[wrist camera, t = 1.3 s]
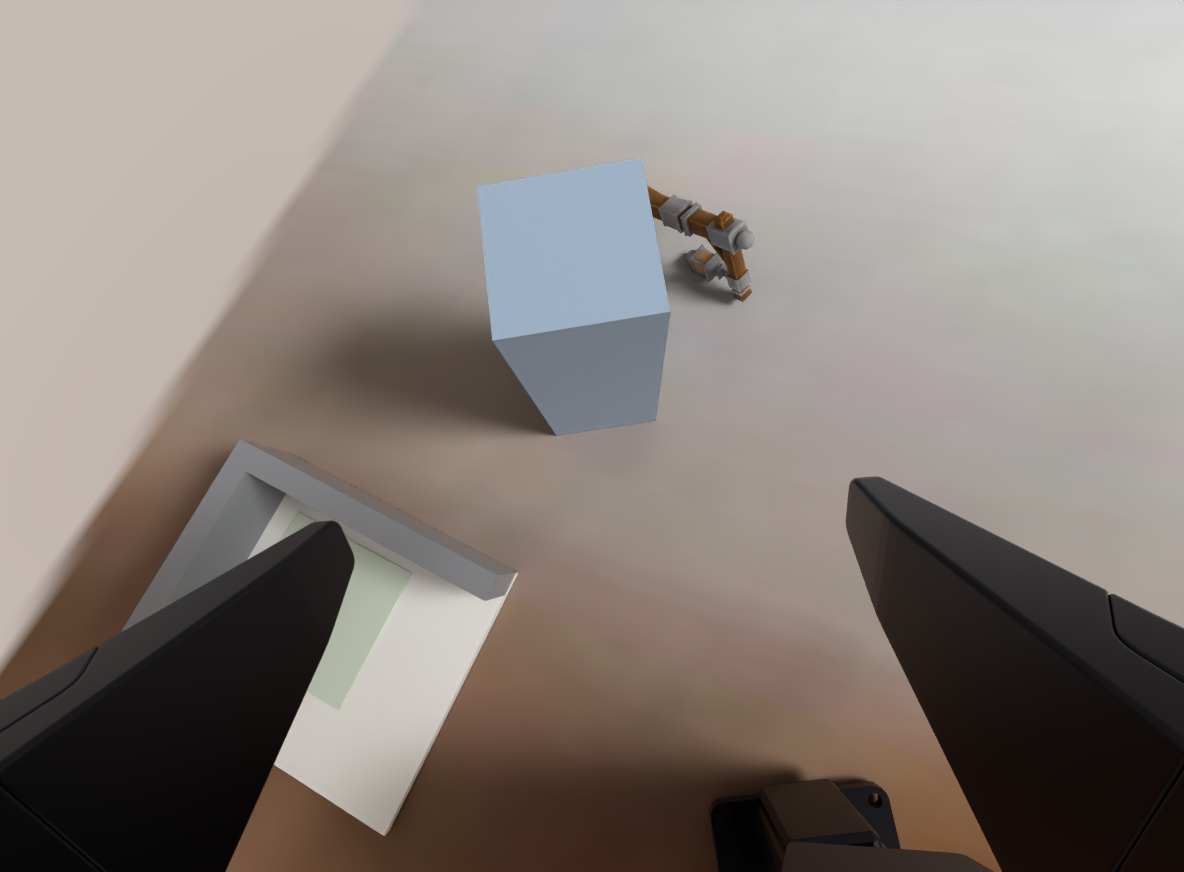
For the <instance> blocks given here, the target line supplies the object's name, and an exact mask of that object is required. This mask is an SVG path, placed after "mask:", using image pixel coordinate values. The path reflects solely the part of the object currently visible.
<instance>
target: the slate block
mask: <svg viewBox="0 0 1184 872" xmlns="http://www.w3.org/2000/svg"><path fill="white" fill-rule="evenodd" d="M477 194H478V204H479V213H480V223H481V233H482V243H483V253H484V263H485V273H486V283H487V293H488V303H489V313H490V323H491V333H492V341H493V342H494V344H495V345H496V347H497V348H498V350H499V351H500V353H501V354H502V356H503V357H504V359H505V360H506V362H507V363H508V365H509V366H510V368H511V369H512V371H513V372H514V373H515V375H516V376H517V378H518V379H519V381H520V382H521V384H522V385H523V387H524V388H525V390H526V391H527V393H528V394H529V396H530V397H531V399H532V400H533V402H534V403H535V405H536V406H537V408H538V409H539V410H540V412H541V413H542V415H543V416H544V418H545V419H546V421H547V422H548V424H549V425H550V427H551V428H552V430H553V431H554V433H555V434H556V436H558V435H565V434H572V433H578V432H585V431H591V430H598V429H604V428H611V427H617V426H624V425H630V424H637V423H644V422H650V421H656V415H657V408H658V400H659V393H660V385H661V378H662V370H663V362H664V355H665V347H666V340H667V332H668V325H669V317H670V308H669V302H668V297H667V291H666V286H665V281H664V275H663V270H662V264H661V259H660V253H659V248H658V243H657V237H656V232H655V226H654V221H653V215H652V210H651V205H650V199H649V194H648V188H647V183H646V178H645V172H644V167H643V161H642V158H636V159H631V160H625V161H620V162H614V163H608V164H603V165H597V166H591V167H586V168H580V169H575V170H569V171H563V172H558V173H552V174H546V175H541V176H535V177H530V178H524V179H518V180H513V181H507V182H502V183H496V184H490V185H485V186H479V187H477Z"/></svg>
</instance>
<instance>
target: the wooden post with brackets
mask: <svg viewBox="0 0 1184 872" xmlns="http://www.w3.org/2000/svg"><path fill="white" fill-rule="evenodd" d="M647 188H648V194H649V199H650V205H651V210H652V215H653V217H654V218H657V219H659V220H662V221H663V224H664V226H669V227H671V228H674V229H676V230H678V231H679V232H680V233H682V232H683V231H684V233H685V236H686V235H688V236H689V237H690V236H691V235H692V234H696V235H699V236H702V237H704V238H706V239H707V240H708V241H709V243H710V244H711V245H712V247H713V248H714V249H715V251H716V252H717V253H716V254H713V253H711V252H710V251H708V250H706V249H705V248H704V246H703V245H702V246H701V247H699V248H698V249H697V250H691V251H690V252H689V253H688V254H687V261H688V262H689V263H690V266H691V269H692V271H695V272H698V273H700V274H703V275H705V276H706V279H707V282H708V283H709V282H710V281H711V280H712V279H713V278H714V277H715V276H716V275H717V276H718V277H719V280H720V279H721V278H722V277H723V276H725V277H726V278H727V280H728V284H729V287H730V288H732V292H733V295H734V298H736V299H738V300H740V301H742V302H743V301H744V300H745V299H746V298H747V297H748V296H749V295H750V294H751V293H752V291H751V289H750V288H751V285H749V283H750V282H751V278H750V274H749V270H747V269H746V267H745V263H744V258H743V254H742V250H741V249H748V248H750V247H751V246H752V245H753V244H754V241H755V237H754V235H753V233H752V232H751V231H748V227H747V222H746V221H745V220H739V219H736V218H733V215H732V214H730V213H727V212H725V211H722V212H721V213H720V214H719V215H718V216H717V215H714V214H712V213H709V212H707V211H704V210H702V207H701V204H697V202H696V203H695V204H694V205H693V203H692V201H686V200H683V199H680V198H678V197H676V196H675V195H673V196H672V197H670V198H669V197H667V196H665V195H662V194H660V193H659V192H657V191H655V190H654V189H652V188H650V187H649V186H647ZM722 260H723V261H724V262H725V263H724V264H723V261H722Z"/></svg>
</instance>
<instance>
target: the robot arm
mask: <svg viewBox="0 0 1184 872" xmlns="http://www.w3.org/2000/svg"><path fill="white" fill-rule="evenodd" d="M846 527H847V532H848V535H849V538H850V541H851V544H852V547H853V550H854V553H855V555H856V558H857V561H858V564H859V567H860V570H861V573H862V576H863V578H864V581H865V584H866V587H867V590H868V593H869V596H870V598H871V601H872V604H873V607H874V609H875V612H876V614H877V617H878V619H879V621H880V623H881V625H882V628H883V630H884V632H885V634H886V636H887V638H888V640H889V642H890V644H891V646H892V648H893V650H894V652H895V654H896V656H897V658H898V660H899V662H900V664H901V666H902V668H903V670H904V673H905V675H906V677H907V679H908V681H909V683H910V685H911V687H912V689H913V691H914V693H915V695H916V697H917V699H918V701H919V703H920V705H921V707H922V709H923V711H924V713H925V715H926V717H927V719H928V721H929V723H930V725H931V728H932V730H933V732H934V734H935V736H936V738H937V740H938V742H939V744H940V746H941V748H942V750H943V752H944V754H945V756H946V758H947V760H948V762H949V764H950V766H951V768H952V770H953V772H954V774H955V776H956V778H957V780H958V783H959V785H960V787H961V789H962V791H963V793H964V795H965V797H966V799H967V801H968V803H969V805H970V807H971V809H972V811H973V813H974V815H975V817H976V819H977V821H978V823H979V825H980V827H981V829H982V831H983V833H984V835H985V838H986V840H987V842H988V844H989V846H990V848H991V850H992V852H993V854H994V856H995V858H996V860H997V862H998V864H999V866H1000V868H1001V870H1002V872H1184V628H1182V627H1180V626H1178V625H1176V624H1174V623H1172V622H1170V621H1168V620H1166V619H1164V618H1162V617H1160V616H1157V615H1155V614H1153V613H1151V612H1149V611H1147V610H1145V609H1143V608H1141V607H1139V606H1137V605H1135V604H1133V603H1131V602H1129V601H1127V600H1125V599H1123V598H1121V597H1119V596H1117V595H1115V594H1110V595H1109V596H1108V592H1107V591H1106V590H1105V589H1103V588H1101V587H1099V586H1097V585H1095V584H1093V583H1091V582H1089V581H1087V580H1085V579H1083V578H1081V577H1079V576H1077V575H1075V574H1073V573H1071V572H1069V571H1067V570H1065V569H1063V568H1061V567H1059V566H1057V565H1055V564H1053V563H1051V562H1049V561H1047V560H1045V559H1043V558H1041V557H1039V556H1037V555H1035V554H1033V553H1031V552H1029V551H1027V550H1025V549H1023V548H1021V547H1019V546H1017V545H1015V544H1013V543H1011V542H1009V541H1007V540H1005V539H1003V538H1001V537H999V536H997V535H995V534H993V533H991V532H989V531H987V530H985V529H983V528H981V527H979V526H977V525H975V524H973V523H971V522H969V521H967V520H965V519H963V518H961V517H959V516H957V515H955V514H953V513H951V512H949V511H947V510H945V509H943V508H941V507H939V506H937V505H935V504H933V503H931V502H929V501H927V500H925V499H923V498H921V497H919V496H917V495H915V494H913V493H911V492H909V491H907V490H905V489H903V488H901V487H899V486H897V485H895V484H893V483H891V482H889V481H887V480H885V479H883V478H881V477H876V476H875V477H863V478H854V479H853V480H852V481H851V483H850V485H849V492H848V503H847V513H846ZM354 564H355V558H354V554H353V551H352V549H351V547H350V545H349V543H348V540H347V538H346V536H345V534H344V532H343V530H342V527H341V526H340V524H339V523H338V522H336V521H333V520H331V521H318V522H313V523H311V524H309V525H307V526H305V527H303V528H302V529H300V530H298V531H297V532H295V533H293V534H291V535H290V536H288V537H286V538H284V539H283V540H281V541H279V542H277V543H276V544H274V545H272V546H270V547H269V548H267V549H265V550H263V551H262V552H260V553H258V554H256V555H255V556H253V557H251V558H249V559H248V560H246V561H244V562H242V563H241V564H239V565H237V566H236V567H234V568H232V569H230V570H229V571H227V572H225V573H223V574H222V575H220V576H218V577H216V578H215V579H213V580H211V581H209V582H208V583H206V584H204V585H202V586H201V587H199V588H197V589H195V590H194V591H192V592H190V593H188V594H187V595H185V596H183V597H181V598H180V599H178V600H176V601H175V602H173V603H171V604H169V605H168V606H166V607H164V608H162V609H161V610H159V611H157V612H155V613H154V614H152V615H150V616H148V617H147V618H145V619H143V620H141V621H140V622H138V623H136V624H134V625H133V626H131V627H129V628H127V629H126V630H124V631H122V632H120V633H119V634H117V635H115V636H114V637H112V638H110V639H108V640H107V641H105V642H103V643H102V644H101V645H100V647H94V648H92V649H91V650H89V651H87V652H85V653H84V654H82V655H80V656H78V657H77V658H75V659H73V660H71V661H70V662H68V663H66V664H64V665H63V666H61V667H59V668H57V669H56V670H54V671H52V672H50V673H48V674H47V675H45V676H43V677H41V678H39V679H38V680H36V681H34V682H32V683H31V684H29V685H27V686H25V687H23V688H21V689H20V690H18V691H16V692H14V693H12V694H10V695H8V696H7V697H5V698H3V699H1V700H0V872H226V869H227V867H228V865H229V863H230V861H231V858H232V856H233V854H234V852H235V849H236V847H237V845H238V843H239V841H240V838H241V836H242V834H243V832H244V829H245V827H246V825H247V823H248V821H249V818H250V816H251V814H252V812H253V810H254V807H255V805H256V803H257V801H258V798H259V796H260V794H261V792H262V790H263V787H264V785H265V783H266V781H267V779H268V776H269V774H270V772H271V770H272V767H273V765H274V763H275V761H276V759H277V756H278V754H279V752H280V750H281V747H282V745H283V743H284V741H285V739H286V736H287V734H288V732H289V730H290V728H291V725H292V723H293V721H294V719H295V716H296V714H297V712H298V710H299V708H300V705H301V703H302V701H303V699H304V697H305V694H306V692H307V690H308V688H309V685H310V683H311V681H312V679H313V677H314V674H315V672H316V670H317V668H318V666H319V663H320V661H321V659H322V657H323V654H324V652H325V650H326V647H327V645H328V643H329V640H330V637H331V634H332V632H333V629H334V626H335V623H336V620H337V617H338V614H339V611H340V608H341V605H342V602H343V599H344V596H345V593H346V590H347V587H348V584H349V581H350V578H351V575H352V572H353V569H354ZM872 793H876V794H877V795H878V800H877V801H876V803H874V804H869V803H868V797H869V795H870V794H872ZM723 810H724V811H727V812H728V813H729V818H728V819H727V820H725V821H721V820H719V819H718V818H717V816H718V814H719V812H720V811H723ZM709 815H710V821H711V828H712V834H713V840H714V846H715V852H716V858H717V864H718V870H719V872H993V871H992V870H990V869H988V868H987V867H985V866H983V865H981V864H980V863H978V862H976V861H975V860H973V859H971V858H969V857H967V856H965V855H962V854H957V853H946V852H932V851H919V850H905V849H901V848H900V844H899V840H898V835H897V831H896V827H895V823H894V818H893V814H892V810H891V805H890V801H889V798H888V796H887V793H886V792H885V791H884V790H883V789H882V788H881V787H880V786H879V785H878V784H876V783H874V782H870V781H865V782H857V783H848V784H839V785H835V784H834V783H832V782H831V781H830V780H828V779H821V780H812V781H803V782H795V783H786V784H778V785H769V786H763V787H762V789H761V790H760V791H759V794H754V795H745V796H736V797H728V798H720V799H717V800H715V801H714V802H713V803H712V804H711V806H710V809H709Z"/></svg>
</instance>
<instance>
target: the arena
mask: <svg viewBox="0 0 1184 872" xmlns="http://www.w3.org/2000/svg"><path fill="white" fill-rule="evenodd" d="M331 520H333V521H336V522H338V523H339V524H340V526H341V527H342V530H343V532H344V534H345V536H346V538H347V540H348V543H349V545H350V547H351V549H352V551H353V554H354V558H355V564H354V569H353V572H352V575H351V578H350V581H349V584H348V587H347V590H346V593H345V596H344V599H343V602H342V605H341V608H340V611H339V614H338V617H337V620H336V623H335V626H334V629H333V632H332V634H331V637H330V640H329V643H328V645H327V647H326V650H325V652H324V654H323V657H322V659H321V661H320V663H319V666H318V668H317V670H316V672H315V674H314V677H313V679H312V681H311V683H310V685H309V688H308V690H307V692H306V694H305V697H304V699H303V701H302V703H301V705H300V708H299V710H298V712H297V714H296V716H295V719H294V721H293V723H292V725H291V728H290V730H289V732H288V734H287V736H286V739H285V741H284V743H283V745H282V747H281V750H280V752H279V754H278V756H277V759H276V761H275V763H274V765H275V766H277V767H279V768H280V769H282V770H283V771H285V772H286V773H288V774H289V775H291V776H292V777H294V778H295V779H297V780H298V781H300V782H302V783H303V784H305V785H306V786H308V787H309V788H311V789H312V790H314V791H315V792H317V793H318V794H320V795H321V796H323V797H325V798H326V799H328V800H329V801H331V802H332V803H334V804H335V805H337V806H338V807H340V808H341V809H343V810H345V811H346V812H348V813H349V814H351V815H352V816H354V817H355V818H357V819H358V820H360V821H361V822H363V823H364V824H366V825H368V826H369V827H371V828H372V829H374V830H375V831H377V832H378V833H380V834H381V835H383V836H385V835H386V834H387V833H388V831H389V830H390V829H391V827H392V825H393V823H394V821H395V819H396V817H397V815H398V813H399V811H400V809H401V807H402V805H403V803H404V801H405V799H406V797H407V795H408V793H409V791H410V789H411V787H412V785H413V783H414V781H415V779H416V777H417V775H418V773H419V771H420V769H421V767H422V765H423V763H424V761H425V759H426V757H427V755H428V753H429V751H430V749H431V747H432V745H433V743H434V741H435V739H436V737H437V735H438V733H439V731H440V729H441V727H442V725H443V723H444V721H445V719H446V717H447V715H448V713H449V711H450V709H451V707H452V705H453V703H454V701H455V699H456V697H457V695H458V693H459V691H460V689H461V687H462V685H463V683H464V681H465V679H466V677H467V675H468V673H469V671H470V669H471V667H472V665H473V663H474V661H475V659H476V657H477V655H478V653H479V651H480V649H481V647H482V645H483V643H484V641H485V639H486V637H487V635H488V633H489V631H490V629H491V627H492V625H493V623H494V621H495V619H496V617H497V615H498V613H499V611H500V609H501V607H502V605H503V603H504V601H505V599H506V597H507V595H508V593H509V591H510V589H511V587H512V585H513V583H514V581H515V579H516V577H517V575H518V572H516V571H514V570H512V569H510V568H509V567H507V566H505V565H503V564H501V563H499V562H497V561H495V560H493V559H491V558H490V557H488V556H486V555H484V554H482V553H480V552H478V551H476V550H474V549H472V548H470V547H469V546H467V545H465V544H463V543H461V542H459V541H457V540H455V539H453V538H451V537H450V536H448V535H446V534H444V533H442V532H440V531H438V530H436V529H434V528H432V527H431V526H429V525H427V524H425V523H423V522H421V521H419V520H417V519H415V518H413V517H411V516H410V515H408V514H406V513H404V512H402V511H400V510H398V509H396V508H394V507H392V506H391V505H389V504H387V503H385V502H383V501H381V500H379V499H377V498H375V497H373V496H372V495H370V494H368V493H366V492H364V491H362V490H360V489H358V488H356V487H354V486H352V485H351V484H349V483H347V482H345V481H343V480H341V479H339V478H337V477H335V476H333V475H332V474H330V473H328V472H326V471H324V470H322V469H320V468H318V467H316V466H314V465H312V464H311V463H309V462H307V461H305V460H303V459H301V458H299V457H297V456H295V455H293V454H290V453H286V452H283V451H280V450H276V449H273V448H269V447H266V446H263V445H259V444H256V443H252V442H249V441H246V440H242V439H239V441H238V443H237V444H236V446H235V448H234V449H233V451H232V452H231V454H230V456H229V457H228V459H227V461H226V462H225V464H224V465H223V467H222V469H221V470H220V472H219V473H218V475H217V477H216V478H215V480H214V482H213V483H212V485H211V486H210V488H209V490H208V491H207V493H206V495H205V496H204V498H203V499H202V501H201V503H200V504H199V506H198V508H197V509H196V511H195V512H194V514H193V516H192V517H191V519H190V521H189V522H188V524H187V525H186V527H185V529H184V530H183V532H182V534H181V535H180V537H179V538H178V540H177V542H176V543H175V545H174V547H173V548H172V550H171V551H170V553H169V555H168V556H167V558H166V560H165V561H164V563H163V564H162V566H161V568H160V569H159V571H158V573H157V574H156V576H155V577H154V579H153V581H152V582H151V584H150V585H149V587H148V589H147V590H146V592H145V594H144V595H143V597H142V598H141V600H140V602H139V603H138V605H137V607H136V608H135V610H134V611H133V613H132V615H131V616H130V618H129V620H128V621H127V623H126V624H125V626H124V628H123V629H122V631H124V630H126V629H127V628H129V627H131V626H133V625H134V624H136V623H138V622H140V621H141V620H143V619H145V618H147V617H148V616H150V615H152V614H154V613H155V612H157V611H159V610H161V609H162V608H164V607H166V606H168V605H169V604H171V603H173V602H175V601H176V600H178V599H180V598H181V597H183V596H185V595H187V594H188V593H190V592H192V591H194V590H195V589H197V588H199V587H201V586H202V585H204V584H206V583H208V582H209V581H211V580H213V579H215V578H216V577H218V576H220V575H222V574H223V573H225V572H227V571H229V570H230V569H232V568H234V567H236V566H237V565H239V564H241V563H242V562H244V561H246V560H248V559H249V558H251V557H253V556H255V555H256V554H258V553H260V552H262V551H263V550H265V549H267V548H269V547H270V546H272V545H274V544H276V543H277V542H279V541H281V540H283V539H284V538H286V537H288V536H290V535H291V534H293V533H295V532H297V531H298V530H300V529H302V528H303V527H305V526H307V525H309V524H311V523H313V522H318V521H331ZM122 631H121V632H122Z"/></svg>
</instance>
